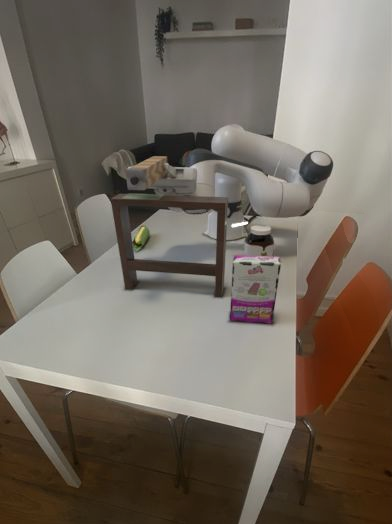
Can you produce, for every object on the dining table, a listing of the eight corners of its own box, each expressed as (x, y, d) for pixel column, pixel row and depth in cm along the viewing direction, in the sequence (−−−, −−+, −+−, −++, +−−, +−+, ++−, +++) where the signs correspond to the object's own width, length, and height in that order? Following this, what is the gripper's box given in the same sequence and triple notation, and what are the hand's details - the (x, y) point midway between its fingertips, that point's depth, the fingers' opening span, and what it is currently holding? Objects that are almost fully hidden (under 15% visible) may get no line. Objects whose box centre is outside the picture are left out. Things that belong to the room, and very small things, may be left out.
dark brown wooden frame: (131, 280, 103) (118, 192, 87) (223, 287, 98) (228, 196, 82) (125, 289, 98) (110, 198, 82) (221, 297, 94) (225, 202, 78)
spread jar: (244, 265, 112) (247, 231, 104) (240, 253, 121) (242, 221, 113) (278, 264, 112) (284, 231, 105) (271, 252, 121) (276, 221, 114)
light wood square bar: (154, 172, 90) (152, 156, 87) (168, 172, 89) (167, 156, 87) (126, 190, 72) (123, 170, 69) (143, 191, 71) (141, 171, 69)
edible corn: (151, 235, 138) (150, 224, 135) (143, 252, 122) (142, 240, 120) (139, 234, 138) (138, 224, 136) (130, 252, 123) (128, 240, 120)
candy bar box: (271, 314, 86) (280, 255, 76) (272, 324, 82) (282, 264, 72) (229, 311, 87) (233, 253, 77) (228, 321, 83) (232, 261, 73)
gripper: (136, 173, 98) (118, 152, 85) (201, 175, 95) (193, 153, 82) (135, 195, 99) (117, 177, 86) (199, 197, 96) (191, 179, 83)
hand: (155, 166), depth 84 cm, fingers closed on light wood square bar, 4 cm apart
